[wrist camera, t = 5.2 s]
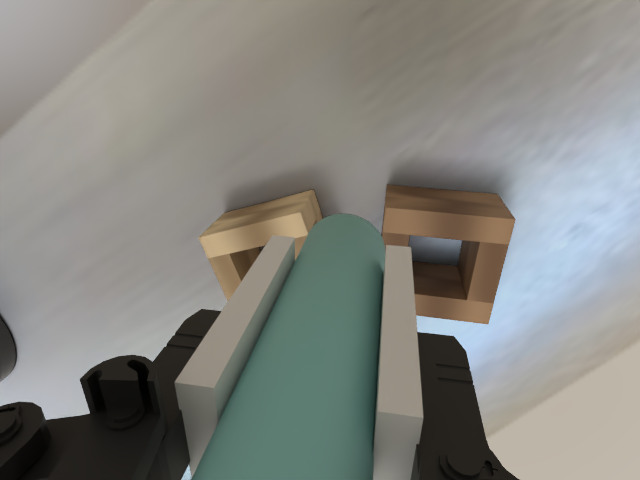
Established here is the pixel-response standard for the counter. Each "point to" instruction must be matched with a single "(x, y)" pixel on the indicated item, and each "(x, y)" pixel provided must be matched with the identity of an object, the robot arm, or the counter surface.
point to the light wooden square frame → (256, 234)
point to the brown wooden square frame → (475, 255)
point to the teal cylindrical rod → (310, 368)
